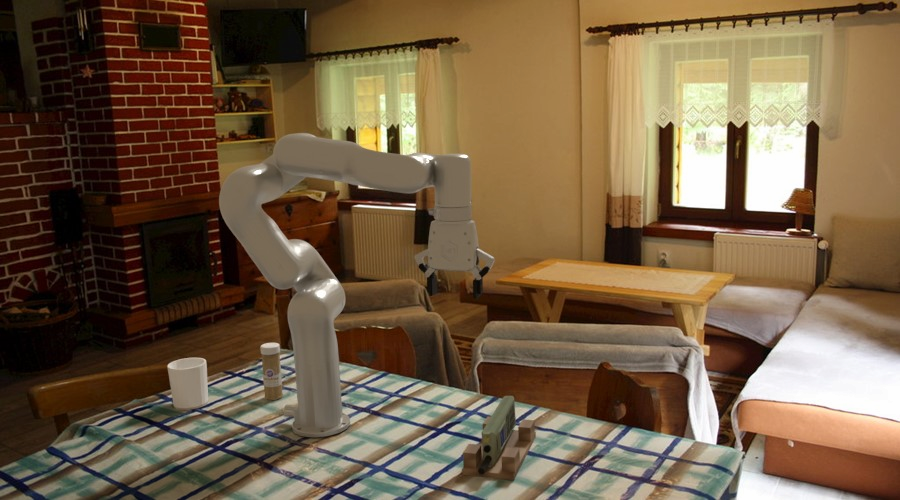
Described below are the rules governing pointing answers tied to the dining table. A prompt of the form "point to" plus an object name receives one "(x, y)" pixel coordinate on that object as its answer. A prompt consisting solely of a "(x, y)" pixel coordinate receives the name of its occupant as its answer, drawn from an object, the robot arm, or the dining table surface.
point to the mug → (188, 383)
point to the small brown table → (509, 456)
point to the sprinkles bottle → (271, 371)
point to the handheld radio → (497, 432)
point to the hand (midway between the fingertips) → (454, 295)
